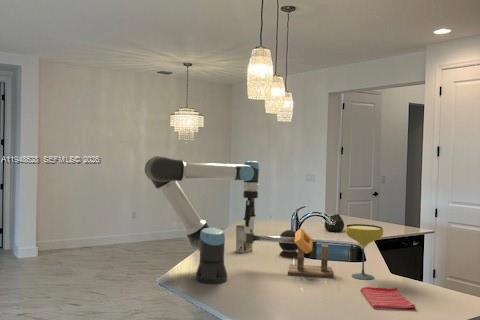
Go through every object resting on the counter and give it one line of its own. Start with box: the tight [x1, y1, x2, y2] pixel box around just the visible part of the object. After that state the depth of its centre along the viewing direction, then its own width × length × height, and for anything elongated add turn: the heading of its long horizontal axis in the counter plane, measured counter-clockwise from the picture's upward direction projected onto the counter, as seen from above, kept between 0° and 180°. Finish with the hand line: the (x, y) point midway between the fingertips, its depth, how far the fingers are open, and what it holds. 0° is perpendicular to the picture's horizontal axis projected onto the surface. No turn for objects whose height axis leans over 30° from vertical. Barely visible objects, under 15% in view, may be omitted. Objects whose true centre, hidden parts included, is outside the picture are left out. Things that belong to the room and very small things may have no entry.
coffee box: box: [235, 223, 254, 254], centre depth 275 cm, size 9×6×16 cm
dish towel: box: [360, 286, 417, 312], centre depth 187 cm, size 17×24×3 cm
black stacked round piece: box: [278, 229, 298, 258], centre depth 267 cm, size 13×13×15 cm
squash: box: [324, 213, 345, 233], centre depth 355 cm, size 14×15×15 cm
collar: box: [295, 227, 314, 255], centre depth 227 cm, size 9×4×9 cm
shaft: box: [246, 231, 295, 245], centre depth 232 cm, size 4×26×5 cm, turn 80°
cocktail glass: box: [345, 223, 384, 281], centre depth 222 cm, size 18×18×25 cm
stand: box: [287, 244, 334, 279], centre depth 229 cm, size 16×22×14 cm
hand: (249, 230), depth 234 cm, fingers open, 13 cm apart
